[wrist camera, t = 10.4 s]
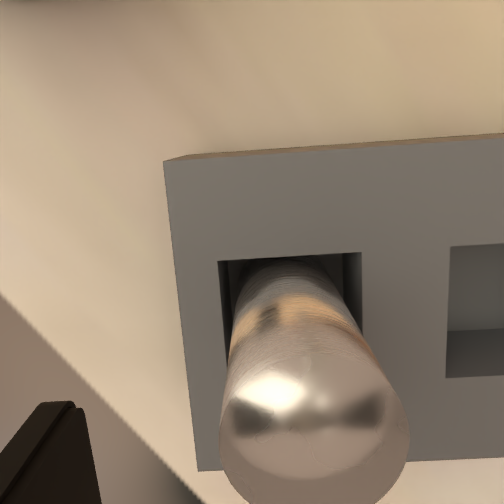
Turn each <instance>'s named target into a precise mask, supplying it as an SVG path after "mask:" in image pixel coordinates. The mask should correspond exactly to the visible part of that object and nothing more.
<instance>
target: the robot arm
mask: <svg viewBox="0 0 504 504" xmlns="http://www.w3.org/2000/svg"><path fill="white" fill-rule="evenodd" d="M0 504H102V503H101V497H100V492H99V486H98V481H97V476H96V471H95V465H94V460H93V455H92V449H91V445H90V439H89V434H88V428H87V423H86V418H85V413H84V411H83V409H82V408H76V406H75V404H74V402H72V401H55V402H43V403H40V404H39V405H38V406H37V407H36V409H35V410H34V411H33V413H32V414H31V415H30V416H29V417H28V419H27V420H26V421H25V423H24V424H23V425H22V426H21V428H20V429H19V430H18V431H17V433H16V434H15V435H14V437H13V438H12V439H11V440H10V442H9V443H8V444H7V445H6V447H5V448H4V449H3V450H2V452H1V453H0Z"/></svg>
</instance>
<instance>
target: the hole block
mask: <svg viewBox="0 0 504 504" xmlns="http://www.w3.org/2000/svg"><path fill="white" fill-rule="evenodd" d="M163 167H164V176H165V185H166V194H167V203H168V212H169V221H170V229H171V238H172V247H173V256H174V265H175V274H176V283H177V291H178V300H179V309H180V318H181V327H182V336H183V345H184V353H185V362H186V371H187V380H188V389H189V398H190V407H191V415H192V424H193V433H194V442H195V451H196V460H197V468H198V472H199V471H220V470H224V469H223V466H222V463H221V460H220V455H219V447H218V436H219V426H220V419H221V411H222V404H223V396H224V389H225V381H226V374H227V367H228V359H229V352H230V344H231V337H232V329H233V322H234V315H235V307H236V300H237V292H238V285H239V279H240V275H241V272H242V270H243V268H244V266H245V264H246V263H247V262H248V260H249V259H255V258H271V257H287V256H303V255H315V256H316V257H317V258H318V259H319V260H320V261H321V262H322V264H323V266H324V267H325V269H326V271H327V273H328V274H329V276H330V278H331V280H332V282H333V283H334V285H335V287H336V289H337V290H338V292H339V294H340V296H341V297H342V299H343V301H344V303H345V304H346V306H347V308H348V310H349V312H350V313H351V315H352V317H353V319H354V320H355V322H356V324H357V326H358V327H359V329H360V331H361V333H362V334H363V336H364V338H365V340H366V342H367V343H368V345H369V347H370V349H371V350H372V352H373V354H374V356H375V357H376V359H377V361H378V363H379V365H380V366H381V368H382V370H383V372H384V373H385V375H386V377H387V379H388V380H389V382H390V384H391V386H392V387H393V389H394V391H395V393H396V395H397V396H398V398H399V400H400V402H401V403H402V406H403V408H404V411H405V413H406V416H407V420H408V424H409V433H410V440H409V450H408V455H407V459H406V462H413V461H435V460H456V459H477V458H499V457H504V133H496V134H482V135H468V136H453V137H439V138H424V139H410V140H395V141H381V142H367V143H352V144H338V145H323V146H309V147H294V148H280V149H266V150H251V151H237V152H222V153H208V154H193V155H186V156H182V157H178V158H174V159H170V160H166V161H163Z"/></svg>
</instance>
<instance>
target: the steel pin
mask: <svg viewBox="0 0 504 504" xmlns="http://www.w3.org/2000/svg"><path fill="white" fill-rule="evenodd" d="M409 440H410V433H409V424H408V420H407V416H406V413H405V411H404V408H403V406H402V403H401V402H400V400H399V398H398V396H397V395H396V393H395V391H394V389H393V387H392V386H391V384H390V382H389V380H388V379H387V377H386V375H385V373H384V372H383V370H382V368H381V366H380V365H379V363H378V361H377V359H376V357H375V356H374V354H373V352H372V350H371V349H370V347H369V345H368V343H367V342H366V340H365V338H364V336H363V334H362V333H361V331H360V329H359V327H358V326H357V324H356V322H355V320H354V319H353V317H352V315H351V313H350V312H349V310H348V308H347V306H346V304H345V303H344V301H343V299H342V297H341V296H340V294H339V292H338V290H337V289H336V287H335V285H334V283H333V282H332V280H331V278H330V276H329V274H328V273H327V271H326V269H325V267H324V266H323V264H322V262H321V261H320V260H319V259H318V258H317V257H316V256H315V255H303V256H287V257H271V258H255V259H249V260H248V262H247V263H246V264H245V266H244V268H243V270H242V272H241V275H240V279H239V285H238V292H237V300H236V307H235V315H234V322H233V329H232V337H231V344H230V352H229V359H228V367H227V374H226V381H225V389H224V396H223V404H222V411H221V419H220V426H219V436H218V447H219V455H220V460H221V463H222V466H223V469H224V472H225V474H226V475H227V477H228V479H229V481H230V483H231V484H232V485H233V487H234V488H235V490H236V491H237V492H238V493H239V494H240V495H241V496H242V497H243V498H244V499H245V500H246V501H247V502H249V503H250V504H375V503H376V502H377V501H379V500H380V499H381V498H382V497H383V496H384V495H385V494H386V493H387V492H388V491H389V490H390V489H391V488H392V486H393V485H394V483H395V482H396V481H397V479H398V478H399V476H400V474H401V472H402V470H403V468H404V465H405V462H406V459H407V455H408V450H409Z"/></svg>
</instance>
